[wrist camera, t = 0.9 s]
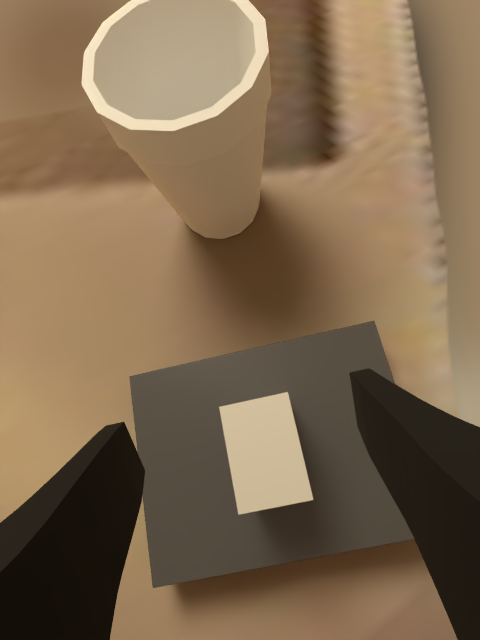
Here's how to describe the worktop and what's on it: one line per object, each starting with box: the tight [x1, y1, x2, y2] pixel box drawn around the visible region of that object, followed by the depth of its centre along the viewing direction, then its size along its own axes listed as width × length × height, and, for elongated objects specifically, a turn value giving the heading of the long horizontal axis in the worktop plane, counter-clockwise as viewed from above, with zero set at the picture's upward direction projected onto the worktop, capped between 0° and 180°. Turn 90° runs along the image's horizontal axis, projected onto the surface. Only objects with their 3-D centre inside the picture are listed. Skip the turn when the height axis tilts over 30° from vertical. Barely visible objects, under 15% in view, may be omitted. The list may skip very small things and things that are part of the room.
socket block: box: [129, 321, 414, 588], centre depth 24 cm, size 12×16×3 cm
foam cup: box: [82, 0, 271, 239], centre depth 25 cm, size 10×9×13 cm
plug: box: [219, 392, 313, 515], centre depth 21 cm, size 5×3×8 cm
